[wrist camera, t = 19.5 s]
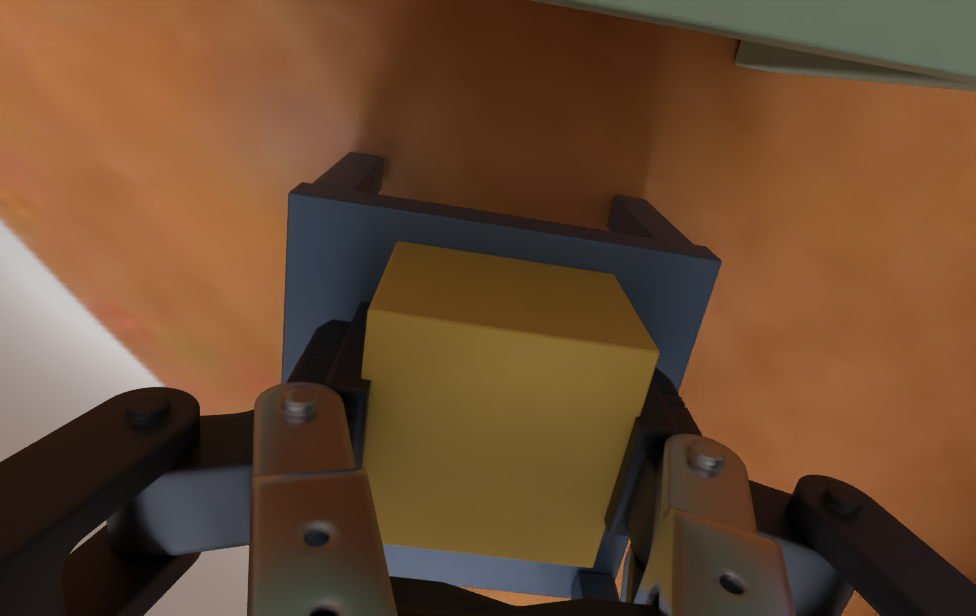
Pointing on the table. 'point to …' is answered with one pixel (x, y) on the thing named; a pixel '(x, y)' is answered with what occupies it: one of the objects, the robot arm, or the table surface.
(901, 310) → the table surface
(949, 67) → the side table
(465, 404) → the mustard yellow cube
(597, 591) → the chair
